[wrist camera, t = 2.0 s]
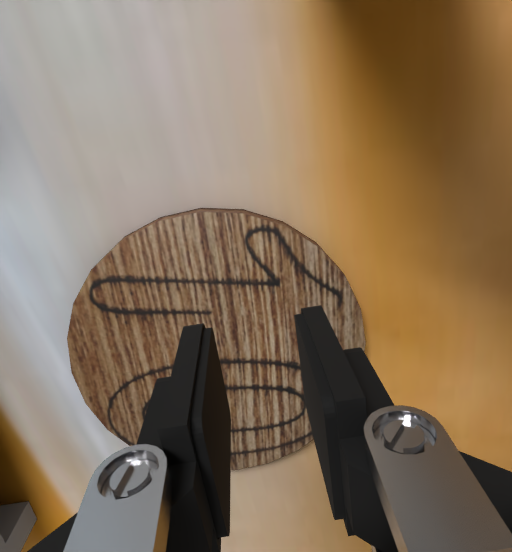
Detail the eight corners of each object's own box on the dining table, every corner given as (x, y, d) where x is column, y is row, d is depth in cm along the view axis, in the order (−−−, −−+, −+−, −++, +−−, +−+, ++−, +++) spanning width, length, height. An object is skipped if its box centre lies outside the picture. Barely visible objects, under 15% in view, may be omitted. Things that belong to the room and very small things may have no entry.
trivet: (41, 222, 32) (29, 228, 30) (359, 192, 32) (367, 196, 30) (109, 468, 41) (104, 483, 39) (358, 442, 41) (364, 456, 39)
